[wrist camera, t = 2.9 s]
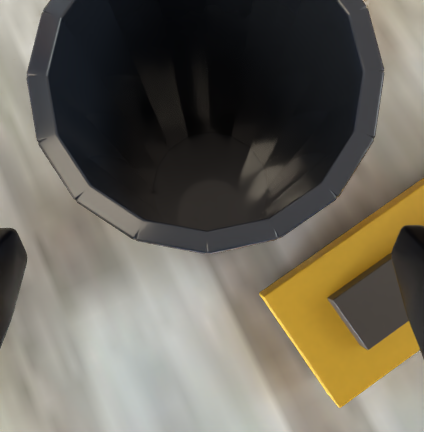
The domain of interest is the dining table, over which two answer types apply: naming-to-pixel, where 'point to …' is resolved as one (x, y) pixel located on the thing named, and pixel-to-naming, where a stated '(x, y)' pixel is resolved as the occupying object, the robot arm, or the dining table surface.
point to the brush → (351, 302)
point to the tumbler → (205, 112)
